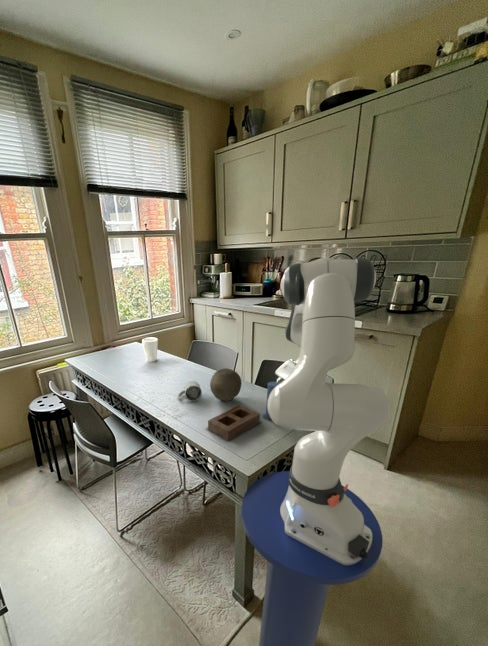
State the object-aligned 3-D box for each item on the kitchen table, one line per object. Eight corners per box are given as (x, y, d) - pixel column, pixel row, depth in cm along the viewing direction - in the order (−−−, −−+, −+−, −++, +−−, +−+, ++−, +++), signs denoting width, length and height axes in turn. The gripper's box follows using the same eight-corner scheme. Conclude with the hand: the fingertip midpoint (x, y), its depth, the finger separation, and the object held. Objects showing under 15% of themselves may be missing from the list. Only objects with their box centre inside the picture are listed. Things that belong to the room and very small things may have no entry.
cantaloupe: (205, 395, 148) (205, 366, 142) (234, 391, 151) (234, 362, 145) (215, 410, 136) (215, 378, 129) (246, 405, 139) (247, 373, 132)
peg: (278, 417, 129) (282, 383, 122) (272, 421, 126) (275, 387, 120) (269, 413, 132) (272, 380, 125) (262, 417, 129) (265, 383, 123)
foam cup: (162, 359, 195) (160, 338, 189) (151, 363, 188) (150, 342, 183) (151, 356, 200) (149, 336, 195) (140, 360, 194) (138, 340, 189)
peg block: (259, 422, 126) (260, 413, 124) (227, 440, 115) (227, 431, 113) (239, 412, 133) (239, 404, 131) (208, 429, 122) (208, 420, 121)
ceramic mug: (199, 392, 151) (199, 378, 148) (202, 400, 144) (201, 385, 140) (177, 394, 150) (176, 380, 147) (179, 402, 143) (177, 387, 140)
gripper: (286, 353, 132) (263, 378, 133) (319, 371, 114) (293, 400, 116) (294, 362, 135) (272, 386, 137) (327, 380, 117) (302, 408, 119)
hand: (282, 393), depth 126 cm, fingers open, 8 cm apart
